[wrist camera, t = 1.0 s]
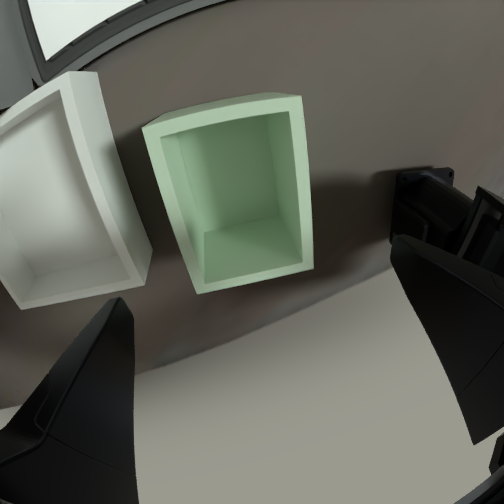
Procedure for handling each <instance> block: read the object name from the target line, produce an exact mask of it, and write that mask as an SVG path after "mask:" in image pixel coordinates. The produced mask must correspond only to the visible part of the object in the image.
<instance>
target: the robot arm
mask: <svg viewBox="0 0 504 504" xmlns="http://www.w3.org/2000/svg"><path fill="white" fill-rule="evenodd" d="M402 178H403V180H402ZM453 179H454V170H453V169H451V168H449V167H446V168H435V169H425V170H415V171H406V172H400V173H399V174H398V175H397V176H396V185H395V197H394V206H393V215H392V223H391V232H390V239H389V242H390V244H391V245H392V248H391V254H390V260H391V264H392V266H393V268H394V270H395V272H396V274H397V276H398V278H399V280H400V282H401V284H402V287H403V289H404V291H405V294H406V295H407V298H408V300H409V301H410V303H411V305H412V307H413V309H414V311H415V312H416V314H417V316H418V318H419V320H420V321H421V323H422V325H423V327H424V329H425V331H426V333H427V335H428V337H429V339H430V340H431V343H432V345H433V347H434V348H435V351H436V353H437V355H438V357H439V359H440V361H441V363H442V366H443V368H444V370H445V372H446V374H447V376H448V379H449V381H450V383H451V386H452V388H453V391H454V393H455V396H456V398H457V401H458V403H459V406H460V409H461V411H462V414H463V417H464V419H465V422H466V425H467V428H468V431H469V434H470V437H471V440H472V443H473V445H475V444H477V443H479V442H481V441H482V440H484V439H485V438H487V437H489V436H490V435H492V434H493V433H495V432H496V431H498V430H499V429H501V428H502V427H504V199H503V198H501V197H499V196H497V195H495V194H494V193H492V192H490V191H488V190H486V189H484V188H482V187H480V186H478V187H477V190H476V192H475V193H476V196H475V198H474V201H473V200H472V199H471V198H469V197H468V196H466V195H465V194H463V193H462V192H460V191H459V190H457V189H456V188H454V187H453ZM401 180H402V181H401ZM134 373H135V345H134V318H133V315H132V313H131V311H130V310H129V308H128V306H127V305H126V303H125V301H124V300H123V299H122V298H121V297H116V298H111V299H109V300H108V301H107V302H106V304H105V305H104V306H103V307H102V308H101V309H100V310H99V311H98V313H97V314H96V315H95V316H94V317H93V318H92V319H91V321H90V322H89V323H88V324H87V325H86V326H85V328H84V329H83V330H82V331H81V332H80V334H79V335H78V336H77V337H76V338H75V340H74V341H73V342H72V343H71V344H70V346H69V347H68V348H67V349H66V351H65V352H64V353H63V354H62V356H61V357H60V358H59V359H58V361H57V362H56V363H55V364H54V366H53V367H52V368H51V370H50V371H49V373H48V374H47V375H46V376H45V377H44V379H43V380H42V381H41V383H40V384H39V385H38V387H37V388H36V389H35V391H34V392H33V393H32V394H31V395H30V397H29V398H28V399H27V400H26V402H25V403H24V404H23V405H22V406H21V408H20V409H19V410H18V411H17V413H16V414H15V415H14V416H13V418H12V419H11V420H10V421H9V423H8V424H7V425H6V426H5V427H4V428H3V429H1V430H0V504H139V500H138V491H137V480H136V476H135V475H136V471H135V455H134V421H133V420H134V419H133V409H134V406H133V405H134ZM489 470H490V472H491V476H490V477H489V478H488V479H486V480H485V481H484V482H483V483H481V484H480V485H479V486H478V487H476V488H475V489H474V490H472V491H471V492H470V493H468V494H467V495H466V496H464V497H463V498H461V499H460V500H458V501H457V502H455V503H454V504H504V432H503V433H502V434H501V435H500V436H499V437H498V438H497V440H496V444H495V448H494V452H493V455H492V458H491V461H490V465H489Z"/></svg>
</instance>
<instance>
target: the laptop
mask: <svg viewBox="0 0 504 504" xmlns="http://www.w3.org/2000/svg"><path fill="white" fill-rule="evenodd" d="M221 1H224V0H0V110H1V109H5V108H8V107H12V106H13V105H14V104H16V103H17V102H19V101H20V100H22V99H23V98H25V97H26V96H27V95H29V94H30V93H32V92H33V89H34V88H33V83H32V78H33V80H34V81H35V82H36V83H37V85H38V86H43V85H45V84H46V83H48V82H50V81H52V80H53V79H55V78H57V77H59V76H60V75H62V74H64V73H66V72H68V71H77V70H78V69H80V68H81V67H83V66H84V65H85V64H87V63H88V62H90V61H92V60H93V59H95V58H96V57H98V56H99V55H101V54H103V53H104V52H106V51H108V50H109V49H111V48H113V47H114V46H116V45H118V44H120V43H122V42H123V41H125V40H127V39H129V38H131V37H133V36H135V35H137V34H139V33H141V32H143V31H145V30H147V29H149V28H151V27H153V26H155V25H158V24H160V23H162V22H165V21H167V20H169V19H172V18H174V17H177V16H179V15H182V14H184V13H187V12H190V11H193V10H196V9H198V8H201V7H204V6H208V5H211V4H214V3H217V2H221Z"/></svg>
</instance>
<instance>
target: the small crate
mask: <svg viewBox="0 0 504 504" xmlns="http://www.w3.org/2000/svg"><path fill="white" fill-rule="evenodd" d="M142 131H143V134H144V138H145V142H146V145H147V149H148V152H149V156H150V159H151V163H152V166H153V169H154V173H155V176H156V179H157V182H158V186H159V189H160V192H161V195H162V198H163V201H164V204H165V207H166V211H167V214H168V216H169V219H170V222H171V225H172V228H173V231H174V234H175V237H176V240H177V242H178V245H179V248H180V251H181V254H182V256H183V259H184V262H185V264H186V267H187V270H188V272H189V275H190V278H191V280H192V283H193V285H194V288H195V290H196V293H197V294H201V293H206V292H211V291H216V290H221V289H225V288H230V287H235V286H239V285H244V284H248V283H253V282H258V281H262V280H267V279H271V278H275V277H280V276H284V275H288V274H293V273H297V272H301V271H306V270H310V269H314V262H313V231H312V210H311V193H310V179H309V166H308V154H307V143H306V133H305V123H304V114H303V106H302V98H301V96H298V95H291V94H284V93H276V92H265V93H258V94H251V95H245V96H239V97H233V98H227V99H222V100H217V101H212V102H208V103H203V104H199V105H195V106H190V107H186V108H182V109H179V110H175V111H171V112H168V113H164V114H162V115H161V116H159V117H158V118H156V119H155V120H153V121H151V122H150V123H148V124H147V125H145V126H144V127H142Z"/></svg>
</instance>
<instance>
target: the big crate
mask: <svg viewBox="0 0 504 504" xmlns="http://www.w3.org/2000/svg"><path fill="white" fill-rule="evenodd" d="M152 252H153V248H152V246H151V244H150V241H149V239H148V236H147V234H146V231H145V229H144V226H143V224H142V221H141V218H140V216H139V213H138V210H137V208H136V205H135V202H134V199H133V197H132V194H131V191H130V188H129V185H128V182H127V179H126V176H125V174H124V170H123V167H122V164H121V161H120V158H119V155H118V152H117V148H116V145H115V142H114V138H113V135H112V131H111V128H110V124H109V120H108V117H107V113H106V109H105V105H104V101H103V97H102V93H101V89H100V84H99V80H98V75H97V72H83V71H68V72H66V73H64V74H62V75H60V76H59V77H57V78H55V79H53V80H52V81H50V82H48V83H46V84H45V85H43V86H42V87H40V88H38V89H37V90H35V91H34V92H32V93H30V94H29V95H27V96H26V97H25V98H23V99H22V100H20V101H19V102H17V103H16V104H14V105H13V106H12V107H10V108H9V109H8V110H6V111H5V112H4V113H2V114H1V115H0V280H1V282H2V283H3V285H4V286H5V288H6V289H7V291H8V292H9V294H10V295H11V297H12V298H13V300H14V301H15V302H16V304H17V305H18V306H19V308H20V309H21V310H24V309H29V308H34V307H39V306H45V305H50V304H55V303H60V302H65V301H70V300H75V299H80V298H85V297H90V296H95V295H100V294H105V293H110V292H115V291H120V290H125V289H130V288H134V287H139V286H144V285H145V282H146V278H147V273H148V269H149V265H150V260H151V256H152Z"/></svg>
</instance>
